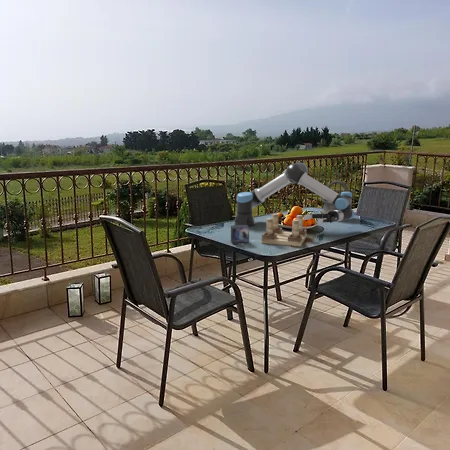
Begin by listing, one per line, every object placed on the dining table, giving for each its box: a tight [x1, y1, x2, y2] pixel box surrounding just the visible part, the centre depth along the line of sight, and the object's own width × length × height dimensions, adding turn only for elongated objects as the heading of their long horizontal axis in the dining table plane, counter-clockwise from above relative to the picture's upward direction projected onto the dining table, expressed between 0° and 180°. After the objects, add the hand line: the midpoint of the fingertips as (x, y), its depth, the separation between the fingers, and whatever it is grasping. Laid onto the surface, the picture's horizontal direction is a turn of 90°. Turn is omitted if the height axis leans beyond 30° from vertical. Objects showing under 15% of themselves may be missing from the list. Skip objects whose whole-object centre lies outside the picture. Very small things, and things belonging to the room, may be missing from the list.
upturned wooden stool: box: [261, 213, 308, 247], centre depth 252 cm, size 24×24×14 cm
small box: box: [230, 225, 250, 245], centre depth 247 cm, size 11×6×10 cm, turn 101°
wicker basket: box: [320, 180, 351, 214], centre depth 316 cm, size 22×23×30 cm
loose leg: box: [296, 214, 304, 232], centre depth 257 cm, size 4×4×12 cm
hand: (311, 219), depth 261 cm, fingers open, 13 cm apart
